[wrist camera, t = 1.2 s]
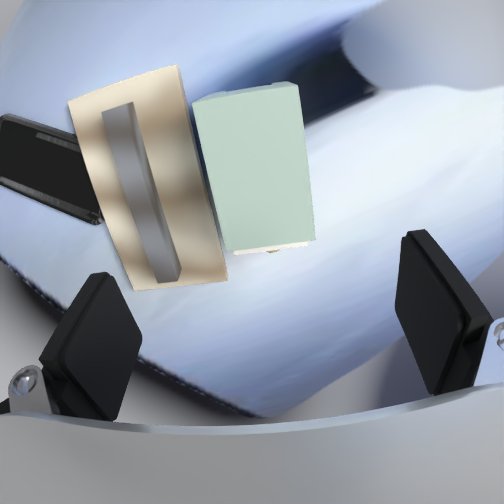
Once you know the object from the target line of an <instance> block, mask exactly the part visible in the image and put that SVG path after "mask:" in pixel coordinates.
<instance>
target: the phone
mask: <svg viewBox="0 0 504 504" xmlns="http://www.w3.org/2000/svg"><path fill="white" fill-rule="evenodd" d="M0 185H2V186H4V187H6V188H9V189H11V190H13V191H15V192H18V193H20V194H22V195H24V196H27V197H29V198H31V199H34V200H36V201H38V202H40V203H43V204H45V205H47V206H50V207H52V208H54V209H57V210H59V211H61V212H64V213H66V214H69V215H71V216H73V217H76V218H78V219H80V220H83V221H85V222H88V223H90V224H93V225H98V224H101V223H102V222H103V220H104V216H103V213H102V211H101V208H100V205H99V202H98V200H97V197H96V194H95V191H94V188H93V185H92V182H91V179H90V176H89V173H88V170H87V167H86V164H85V161H84V158H83V155H82V151H81V148H80V145H79V141H78V138H77V135H75V134H71V133H68V132H65V131H62V130H59V129H56V128H53V127H50V126H47V125H44V124H41V123H38V122H35V121H31V120H28V119H25V118H22V117H19V116H16V115H13V114H6V115H3V116H1V117H0Z"/></svg>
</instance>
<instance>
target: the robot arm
mask: <svg viewBox="0 0 504 504" xmlns="http://www.w3.org/2000/svg"><path fill="white" fill-rule="evenodd" d="M395 311H396V314H397V317H398V319H399V321H400V324H401V326H402V328H403V330H404V333H405V335H406V337H407V339H408V342H409V345H410V347H411V349H412V352H413V354H414V357H415V359H416V362H417V364H418V367H419V369H420V372H421V374H422V377H423V380H424V382H425V385H426V388H427V390H428V392H429V394H434V397H430V398H426V399H422V400H418V401H413V402H409V403H405V404H400V405H395V406H391V407H386V408H381V409H376V410H371V411H366V412H360V413H354V414H349V415H342V416H336V417H329V418H322V419H315V420H306V421H297V422H286V423H275V424H261V425H245V426H211V427H210V426H208V427H207V426H205V427H204V426H199V427H198V426H196V427H195V426H192V427H191V426H160V425H143V424H129V423H119V422H113V421H114V420H116V418H117V416H118V413H119V410H120V407H121V403H122V400H123V397H124V394H125V391H126V388H127V385H128V381H129V379H130V376H131V373H132V369H133V367H134V364H135V361H136V358H137V355H138V352H139V349H140V347H141V344H142V334H141V331H140V329H139V327H138V326H137V324H136V322H135V320H134V318H133V316H132V314H131V312H130V310H129V308H128V306H127V304H126V301H125V299H124V297H123V295H122V293H121V291H120V289H119V287H118V285H117V282H116V280H115V278H114V277H113V276H110V274H109V273H107V272H101V273H93V274H91V275H90V276H89V277H88V279H87V280H86V282H85V283H84V285H83V286H82V288H81V289H80V291H79V293H78V294H77V296H76V297H75V299H74V300H73V302H72V303H71V305H70V307H69V308H68V310H67V311H66V313H65V315H64V316H63V318H62V320H61V321H60V323H59V325H58V326H57V328H56V330H55V331H54V333H53V335H52V336H51V338H50V340H49V341H48V343H47V345H46V347H45V348H44V350H43V352H42V354H41V356H40V357H39V361H40V362H41V363H42V365H43V368H42V370H41V369H40V368H39V367H38V366H35V365H30V366H26V367H24V368H22V369H20V370H19V371H18V372H17V373H16V374H15V375H14V376H13V378H12V379H11V381H10V384H9V387H8V394H9V398H7V399H6V400H4V401H3V402H1V403H0V504H504V318H500V319H497V320H495V321H494V320H493V319H492V317H491V315H490V313H489V312H488V310H487V309H486V307H485V306H484V305H483V303H482V302H481V300H480V299H479V297H478V296H477V294H476V293H475V292H474V291H473V289H472V288H471V286H470V285H469V283H468V282H467V281H466V279H465V278H464V277H463V275H462V274H461V273H460V271H459V270H458V269H457V268H456V266H455V265H454V264H453V262H452V261H451V260H450V259H449V257H448V256H447V255H446V254H445V252H444V251H443V250H442V249H441V247H440V246H439V245H438V244H437V242H436V241H435V240H434V239H433V238H432V236H431V235H430V234H429V233H428V232H427V231H426V230H425V229H422V230H415V231H408V232H407V234H406V236H405V237H402V240H401V252H400V263H399V273H398V283H397V291H396V299H395Z"/></svg>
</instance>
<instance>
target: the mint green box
mask: <svg viewBox="0 0 504 504" xmlns="http://www.w3.org/2000/svg"><path fill="white" fill-rule="evenodd" d="M192 106H193V111H194V115H195V120H196V124H197V129H198V133H199V138H200V142H201V147H202V151H203V155H204V160H205V164H206V169H207V173H208V177H209V181H210V186H211V190H212V194H213V198H214V203H215V207H216V211H217V215H218V219H219V223H220V228H221V232H222V236H223V240H224V244H225V248H226V252H230V251H234V255H242V254H249V253H257V252H264V251H266V252H269V253H273V252H277V251H279V250H280V249H287V248H294V247H302V246H309V245H310V244H309V241H312V240H316V238H315V226H314V215H313V204H312V194H311V185H310V175H309V166H308V158H307V149H306V141H305V134H304V126H303V119H302V111H301V104H300V98H299V91H298V85H295V84H293V83H290V82H287V81H286V82H278V83H272V85H266V86H259V87H253V88H246V89H241V90H235V91H229V92H226V91H222V92H217V93H212V94H209V95H207V96H205V97H203V98H201V99H199V100H197V101H195V102H193V103H192Z"/></svg>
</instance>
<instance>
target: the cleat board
mask: <svg viewBox="0 0 504 504" xmlns="http://www.w3.org/2000/svg"><path fill="white" fill-rule="evenodd" d="M68 105H69V109H70V113H71V116H72V120H73V124H74V127H75V131H76V134H77V138H78V141H79V145H80V148H81V151H82V155H83V158H84V161H85V164H86V167H87V170H88V173H89V176H90V179H91V182H92V185H93V188H94V191H95V194H96V197H97V200H98V202H99V205H100V208H101V211H102V213H103V216H104V219H105V221H106V224H107V227H108V229H109V232H110V234H111V237H112V239H113V242H114V244H115V247H116V249H117V252H118V254H119V257H120V259H121V261H122V264H123V266H124V268H125V271H126V273H127V275H128V278H129V280H130V282H131V284H132V286H133V289H134V291H139V290H149V289H158V288H168V287H177V286H186V285H195V284H203V283H212V282H220V281H227V279H228V272H227V268H226V265H225V261H224V257H223V253H222V249H221V245H220V241H219V237H218V233H217V229H216V225H215V221H214V217H213V213H212V209H211V205H210V201H209V197H208V192H207V188H206V184H205V180H204V176H203V172H202V167H201V163H200V159H199V155H198V150H197V146H196V142H195V137H194V133H193V128H192V124H191V120H190V115H189V111H188V106H187V102H186V97H185V92H184V88H183V83H182V79H181V74H180V69H179V65H177V64H175V65H171V66H168V67H164V68H161V69H157V70H154V71H150V72H147V73H144V74H140V75H137V76H134V77H131V78H128V79H125V80H122V81H119V82H116V83H114V84H111V85H108V86H105V87H103V88H100V89H97V90H95V91H92V92H90V93H87V94H85V95H82V96H80V97H77V98H75V99H73V100H70V101H68Z"/></svg>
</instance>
